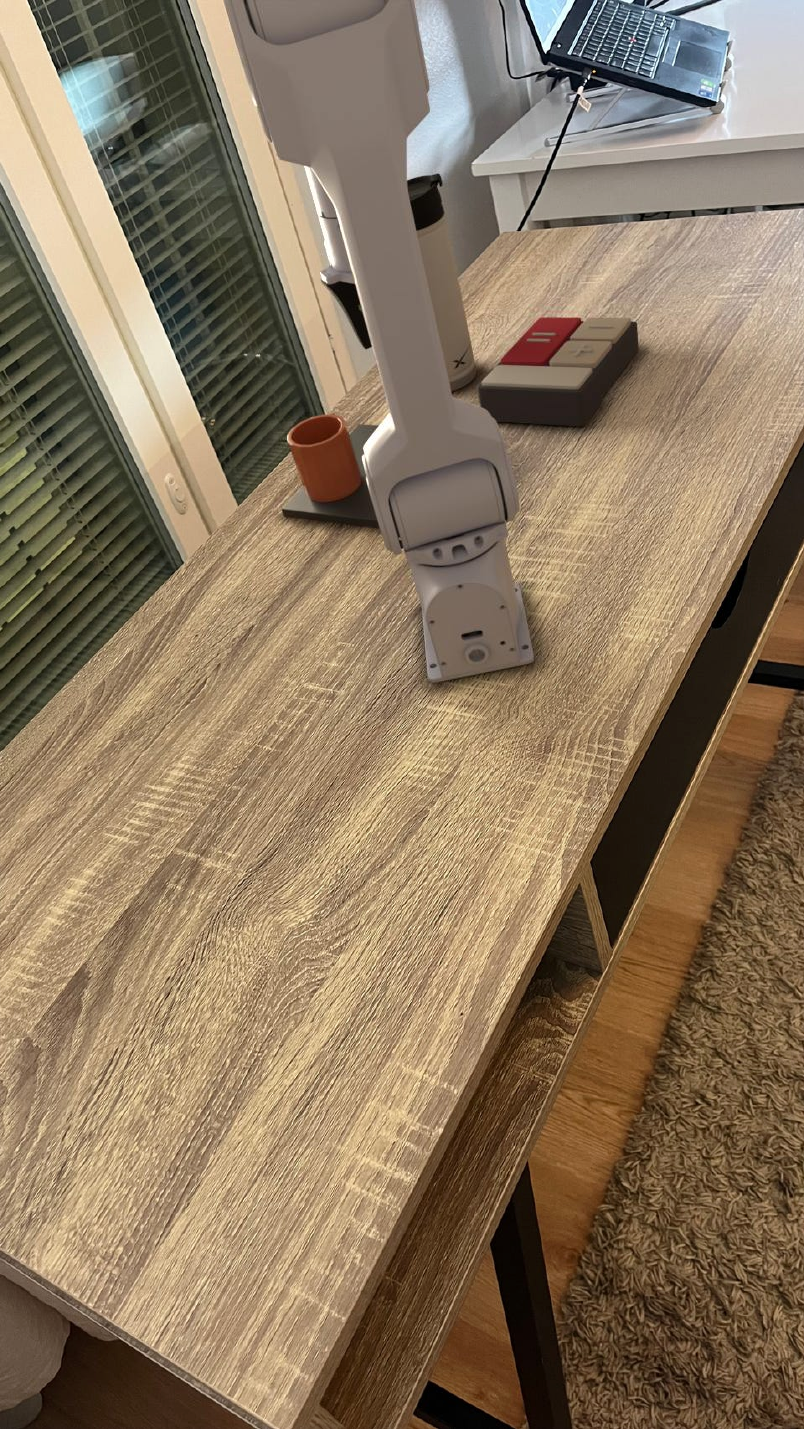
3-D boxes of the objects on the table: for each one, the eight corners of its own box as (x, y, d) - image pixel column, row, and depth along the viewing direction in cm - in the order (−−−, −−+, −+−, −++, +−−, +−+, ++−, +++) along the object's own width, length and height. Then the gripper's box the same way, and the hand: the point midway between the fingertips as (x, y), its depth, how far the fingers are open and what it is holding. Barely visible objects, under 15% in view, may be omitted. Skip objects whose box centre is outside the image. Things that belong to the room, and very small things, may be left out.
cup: (362, 494, 100) (345, 438, 96) (305, 507, 101) (286, 452, 97) (361, 464, 104) (345, 409, 100) (307, 477, 105) (288, 422, 101)
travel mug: (481, 386, 111) (441, 187, 98) (419, 399, 112) (371, 204, 99) (479, 359, 116) (440, 164, 102) (419, 371, 117) (373, 181, 103)
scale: (388, 529, 96) (381, 506, 95) (283, 517, 102) (275, 495, 100) (461, 438, 105) (456, 415, 103) (360, 431, 110) (354, 410, 109)
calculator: (638, 313, 107) (580, 384, 98) (640, 354, 109) (585, 427, 100) (536, 313, 112) (473, 380, 103) (541, 352, 115) (480, 421, 106)
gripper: (277, 203, 93) (322, 349, 102) (340, 243, 82) (383, 402, 91) (350, 173, 94) (387, 320, 103) (421, 209, 83) (456, 369, 93)
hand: (390, 357), depth 97 cm, fingers open, 7 cm apart
